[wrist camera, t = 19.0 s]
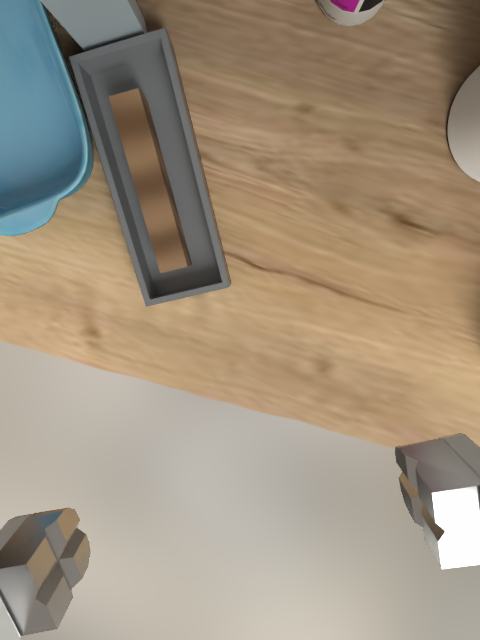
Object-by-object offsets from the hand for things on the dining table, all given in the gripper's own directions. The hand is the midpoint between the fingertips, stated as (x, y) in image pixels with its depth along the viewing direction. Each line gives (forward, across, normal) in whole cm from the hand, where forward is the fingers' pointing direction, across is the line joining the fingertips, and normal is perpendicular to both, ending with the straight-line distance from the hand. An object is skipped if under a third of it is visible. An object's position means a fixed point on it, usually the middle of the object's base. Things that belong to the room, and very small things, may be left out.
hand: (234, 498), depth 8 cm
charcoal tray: (+39, +8, -15) cm, 43 cm away
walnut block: (+38, +8, -14) cm, 42 cm away
